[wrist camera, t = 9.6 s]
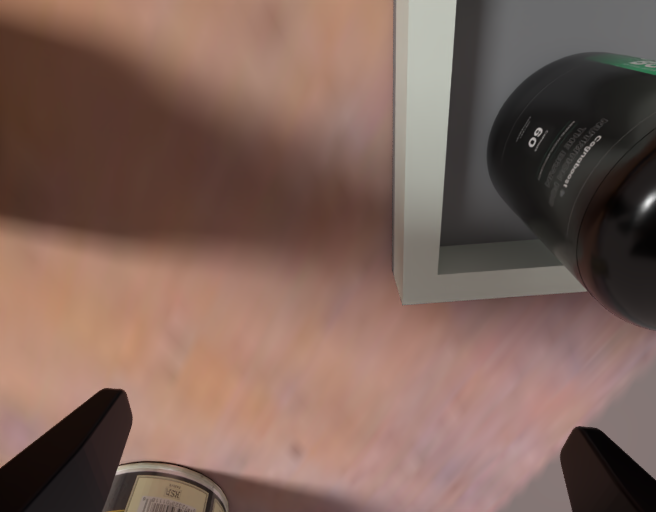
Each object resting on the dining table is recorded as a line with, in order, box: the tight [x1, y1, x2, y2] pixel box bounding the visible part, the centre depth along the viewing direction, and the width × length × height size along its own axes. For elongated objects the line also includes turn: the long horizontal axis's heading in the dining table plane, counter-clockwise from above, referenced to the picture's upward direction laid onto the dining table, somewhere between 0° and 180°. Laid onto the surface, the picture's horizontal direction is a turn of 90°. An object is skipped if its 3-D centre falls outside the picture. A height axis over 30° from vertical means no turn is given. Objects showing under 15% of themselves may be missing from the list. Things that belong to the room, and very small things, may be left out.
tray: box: [392, 0, 656, 305], centre depth 17 cm, size 14×14×3 cm
